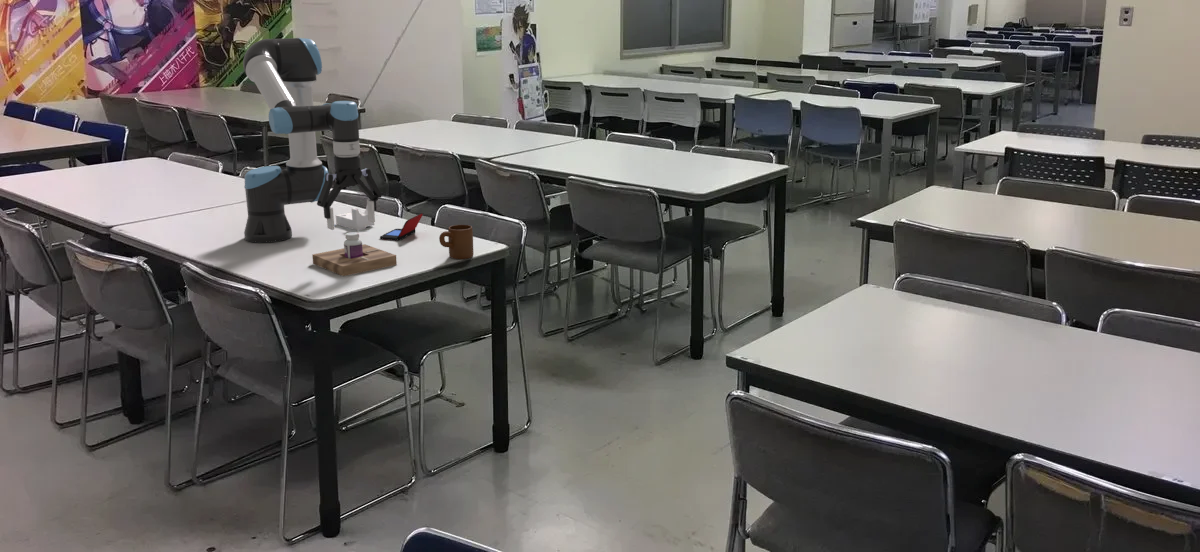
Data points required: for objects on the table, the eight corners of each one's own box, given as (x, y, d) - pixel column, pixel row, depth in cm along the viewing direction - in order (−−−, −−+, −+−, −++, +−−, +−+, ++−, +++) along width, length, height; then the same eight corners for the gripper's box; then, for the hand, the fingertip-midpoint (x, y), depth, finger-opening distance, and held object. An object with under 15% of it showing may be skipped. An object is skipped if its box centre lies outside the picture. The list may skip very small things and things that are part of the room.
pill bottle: (366, 262, 294) (364, 231, 292) (359, 267, 289) (356, 236, 287) (350, 261, 295) (347, 230, 293) (342, 266, 290) (340, 235, 288)
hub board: (313, 264, 293) (312, 253, 292) (365, 253, 305) (364, 243, 304) (343, 276, 280) (342, 265, 279) (396, 264, 292) (396, 254, 291)
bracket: (374, 227, 339) (373, 206, 337) (357, 231, 334) (355, 209, 332) (353, 221, 348) (352, 201, 345) (336, 225, 343) (334, 204, 340)
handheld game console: (396, 231, 334) (395, 210, 331) (424, 233, 331) (423, 212, 329) (378, 240, 322) (377, 218, 320) (408, 242, 319) (406, 220, 317)
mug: (448, 264, 293) (447, 233, 291) (432, 259, 298) (431, 229, 295) (478, 256, 302) (477, 227, 299) (462, 252, 307) (461, 223, 304)
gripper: (314, 161, 272) (319, 234, 278) (390, 151, 289) (394, 220, 295) (301, 158, 277) (307, 229, 284) (377, 148, 294) (381, 216, 300)
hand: (351, 225), depth 289 cm, fingers open, 13 cm apart
